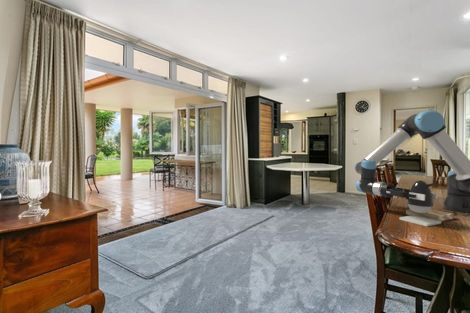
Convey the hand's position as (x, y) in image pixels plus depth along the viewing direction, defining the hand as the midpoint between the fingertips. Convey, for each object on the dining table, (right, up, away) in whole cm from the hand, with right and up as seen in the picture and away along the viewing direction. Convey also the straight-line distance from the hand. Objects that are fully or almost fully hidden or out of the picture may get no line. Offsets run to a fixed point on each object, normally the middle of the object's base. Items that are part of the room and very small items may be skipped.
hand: (430, 196), depth 115 cm
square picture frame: (+10, -13, +14) cm, 21 cm away
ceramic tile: (-2, -13, +4) cm, 13 cm away
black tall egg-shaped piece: (-2, -8, +4) cm, 9 cm away
